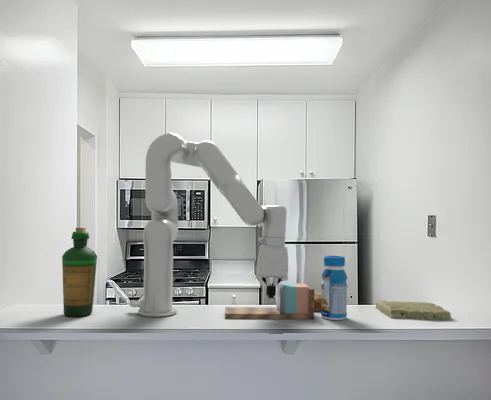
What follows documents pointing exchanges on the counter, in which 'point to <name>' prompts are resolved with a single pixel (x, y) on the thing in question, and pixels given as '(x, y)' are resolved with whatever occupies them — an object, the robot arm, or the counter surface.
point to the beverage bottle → (334, 289)
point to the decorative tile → (413, 310)
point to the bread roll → (317, 301)
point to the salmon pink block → (302, 298)
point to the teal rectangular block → (290, 298)
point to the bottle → (79, 276)
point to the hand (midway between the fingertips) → (270, 297)
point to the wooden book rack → (268, 311)
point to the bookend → (281, 298)
